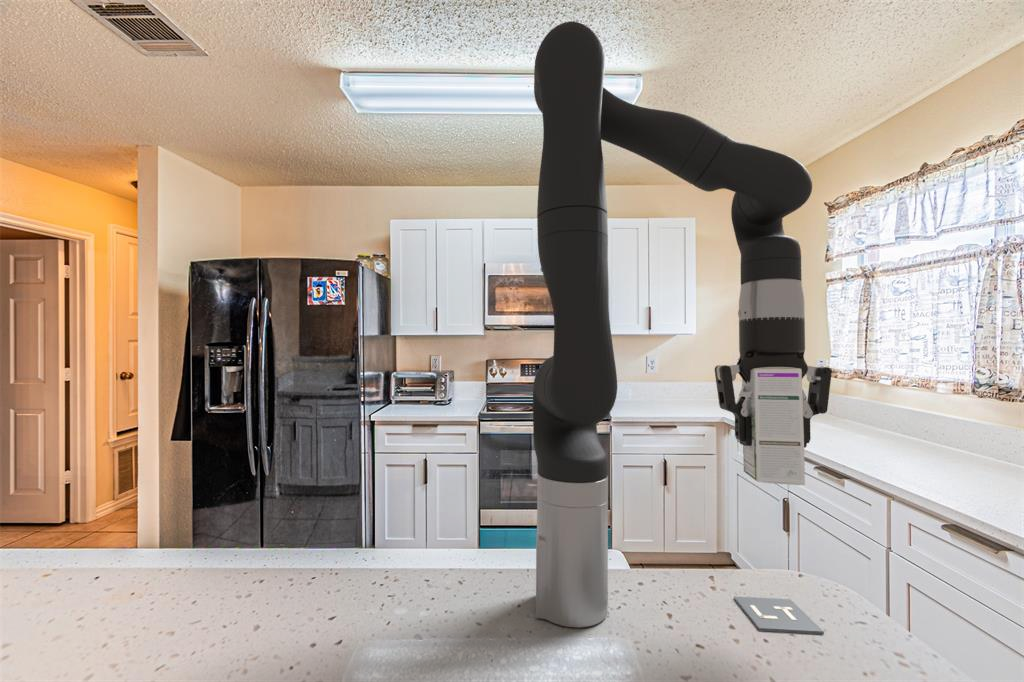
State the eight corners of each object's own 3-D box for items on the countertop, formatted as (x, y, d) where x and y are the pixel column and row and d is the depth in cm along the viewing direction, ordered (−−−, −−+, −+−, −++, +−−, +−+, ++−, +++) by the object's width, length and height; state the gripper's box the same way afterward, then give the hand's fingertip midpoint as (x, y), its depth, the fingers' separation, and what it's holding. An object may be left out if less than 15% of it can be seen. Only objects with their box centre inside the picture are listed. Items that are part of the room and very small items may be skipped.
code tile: (759, 630, 54) (759, 627, 54) (733, 598, 62) (733, 595, 62) (823, 634, 54) (823, 631, 54) (790, 601, 61) (790, 598, 61)
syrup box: (807, 486, 55) (805, 367, 56) (754, 482, 56) (753, 366, 57) (788, 474, 61) (787, 367, 62) (740, 471, 62) (740, 366, 63)
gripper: (725, 314, 56) (726, 449, 56) (846, 315, 55) (849, 453, 54) (704, 319, 64) (705, 439, 63) (811, 320, 63) (813, 442, 62)
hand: (772, 445), depth 59 cm, fingers closed on syrup box, 6 cm apart
